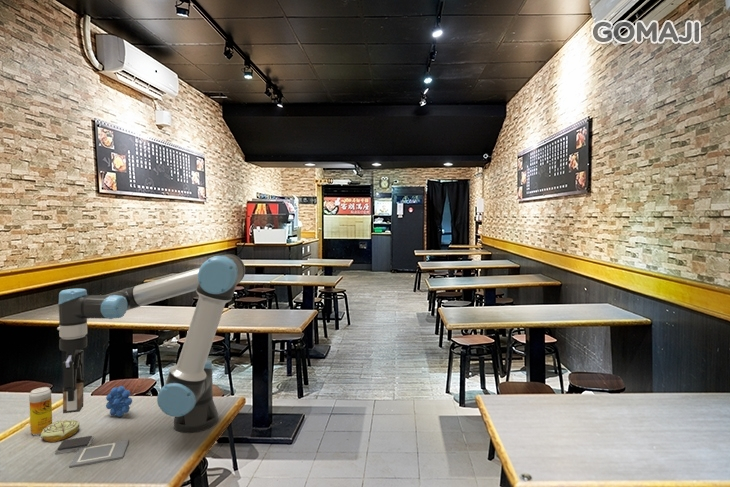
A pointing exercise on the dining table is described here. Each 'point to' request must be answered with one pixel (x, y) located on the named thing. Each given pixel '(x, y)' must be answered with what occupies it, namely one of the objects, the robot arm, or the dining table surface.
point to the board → (99, 453)
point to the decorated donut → (60, 430)
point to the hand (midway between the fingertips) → (74, 406)
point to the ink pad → (74, 444)
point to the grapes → (118, 401)
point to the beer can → (40, 409)
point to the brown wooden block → (79, 399)
